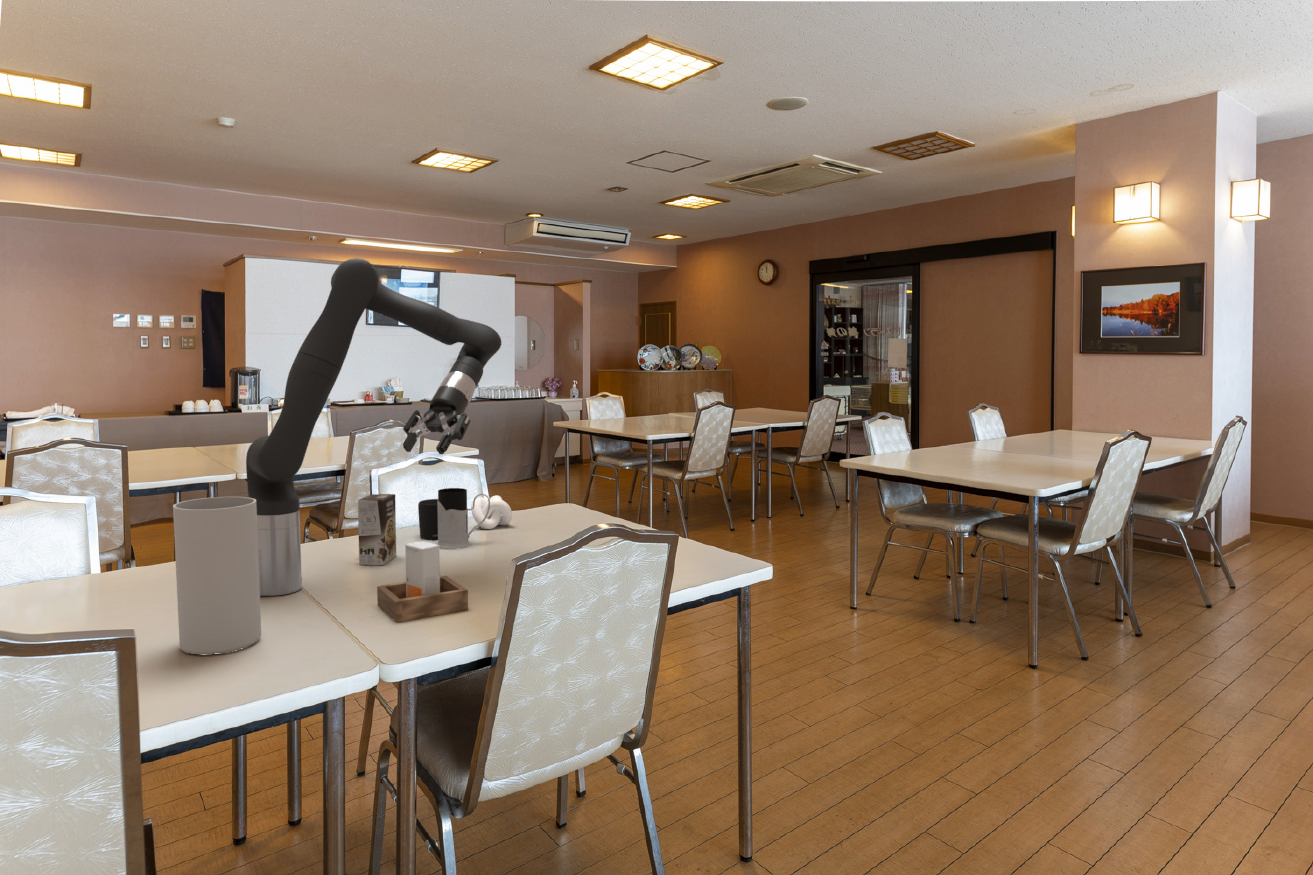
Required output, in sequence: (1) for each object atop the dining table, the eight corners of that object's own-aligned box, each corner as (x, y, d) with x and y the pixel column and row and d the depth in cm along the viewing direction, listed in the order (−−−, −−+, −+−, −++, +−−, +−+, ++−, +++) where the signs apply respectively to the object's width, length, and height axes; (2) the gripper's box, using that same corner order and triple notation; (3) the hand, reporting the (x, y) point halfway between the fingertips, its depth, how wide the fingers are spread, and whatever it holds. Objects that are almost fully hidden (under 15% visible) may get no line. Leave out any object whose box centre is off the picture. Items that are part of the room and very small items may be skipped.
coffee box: (384, 565, 191) (383, 499, 189) (358, 565, 191) (356, 499, 189) (397, 556, 200) (396, 493, 198) (372, 555, 200) (371, 493, 198)
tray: (396, 622, 150) (395, 601, 150) (377, 605, 160) (377, 586, 160) (468, 609, 158) (468, 590, 158) (446, 593, 169) (446, 575, 168)
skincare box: (405, 601, 160) (404, 543, 158) (423, 597, 163) (422, 540, 162) (423, 608, 156) (422, 548, 155) (441, 603, 159) (440, 544, 158)
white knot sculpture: (517, 523, 241) (517, 494, 240) (505, 532, 229) (505, 501, 229) (482, 522, 243) (482, 493, 242) (468, 530, 231) (467, 500, 230)
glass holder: (435, 542, 215) (435, 488, 214) (488, 539, 219) (488, 486, 218) (436, 549, 207) (436, 493, 205) (491, 546, 211) (491, 491, 210)
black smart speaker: (412, 539, 219) (411, 503, 218) (429, 532, 228) (429, 498, 227) (442, 541, 216) (442, 505, 215) (459, 534, 225) (458, 499, 224)
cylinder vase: (273, 631, 144) (269, 496, 142) (240, 657, 132) (234, 510, 130) (204, 631, 144) (198, 496, 142) (164, 657, 132) (156, 509, 129)
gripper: (420, 383, 179) (387, 437, 170) (473, 385, 174) (443, 441, 165) (434, 405, 185) (403, 459, 175) (486, 408, 180) (457, 463, 170)
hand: (422, 450), depth 170 cm, fingers open, 8 cm apart
